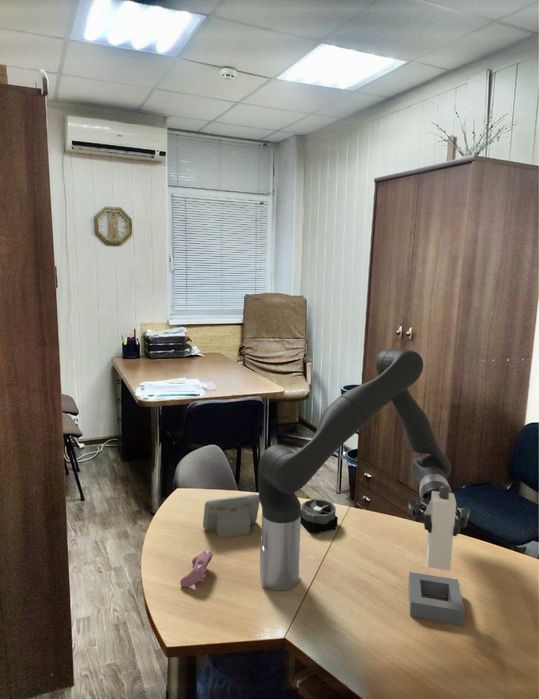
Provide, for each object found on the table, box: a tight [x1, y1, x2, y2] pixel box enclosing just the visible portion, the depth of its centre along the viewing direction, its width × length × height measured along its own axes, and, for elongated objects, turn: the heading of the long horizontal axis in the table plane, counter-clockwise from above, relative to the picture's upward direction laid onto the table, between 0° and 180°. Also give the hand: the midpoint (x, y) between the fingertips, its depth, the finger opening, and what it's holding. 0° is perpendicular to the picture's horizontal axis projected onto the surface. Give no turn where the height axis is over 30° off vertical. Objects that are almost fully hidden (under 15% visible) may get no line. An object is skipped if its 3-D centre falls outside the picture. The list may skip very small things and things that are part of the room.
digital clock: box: [202, 493, 261, 539], centre depth 141 cm, size 16×9×11 cm, turn 97°
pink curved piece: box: [179, 549, 214, 588], centre depth 120 cm, size 10×5×7 cm, turn 169°
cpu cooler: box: [300, 498, 339, 535], centre depth 146 cm, size 10×6×10 cm
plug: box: [426, 485, 457, 572], centre depth 109 cm, size 5×5×18 cm
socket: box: [407, 571, 465, 627], centre depth 112 cm, size 11×11×4 cm
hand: (442, 530), depth 107 cm, fingers closed on plug, 4 cm apart
